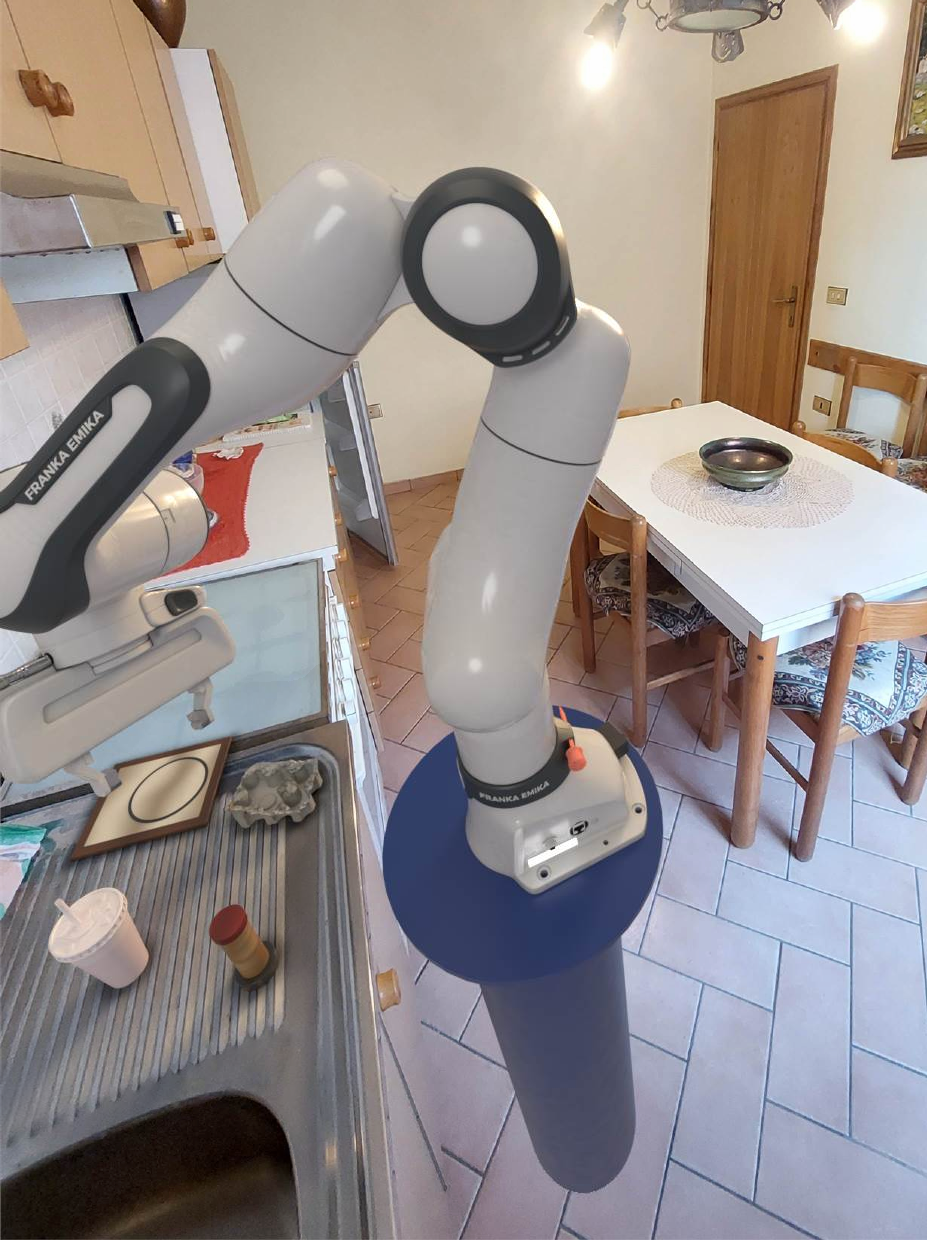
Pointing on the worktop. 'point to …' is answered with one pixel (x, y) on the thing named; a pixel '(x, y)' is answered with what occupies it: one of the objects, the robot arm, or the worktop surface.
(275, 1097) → the worktop surface
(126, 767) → the drawing board
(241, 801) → the egg carton
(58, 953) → the smoothie
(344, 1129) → the worktop surface
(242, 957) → the stamp
